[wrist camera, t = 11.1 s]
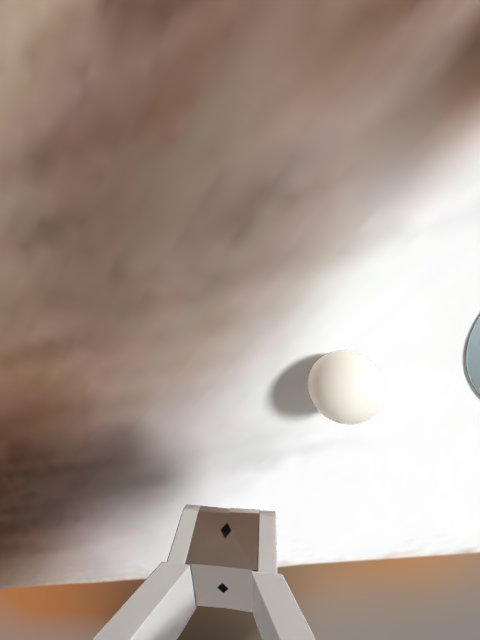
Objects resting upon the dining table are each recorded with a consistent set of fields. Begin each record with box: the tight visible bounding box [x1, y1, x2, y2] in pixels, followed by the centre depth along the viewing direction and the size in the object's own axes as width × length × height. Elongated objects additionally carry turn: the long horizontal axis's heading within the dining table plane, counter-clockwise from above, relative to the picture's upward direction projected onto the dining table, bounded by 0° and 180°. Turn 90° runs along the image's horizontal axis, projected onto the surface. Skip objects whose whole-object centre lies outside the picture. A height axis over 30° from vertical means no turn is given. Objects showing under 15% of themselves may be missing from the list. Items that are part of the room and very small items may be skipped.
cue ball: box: [308, 350, 385, 424], centre depth 20 cm, size 6×6×6 cm
